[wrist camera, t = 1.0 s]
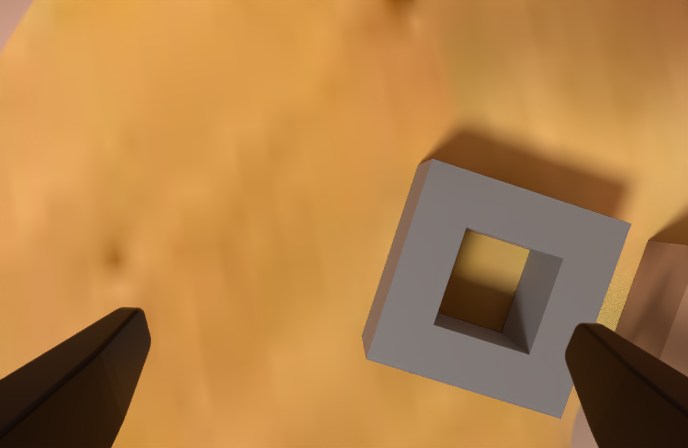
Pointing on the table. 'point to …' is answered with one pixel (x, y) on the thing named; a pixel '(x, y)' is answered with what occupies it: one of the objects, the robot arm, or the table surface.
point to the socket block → (659, 305)
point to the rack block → (528, 303)
